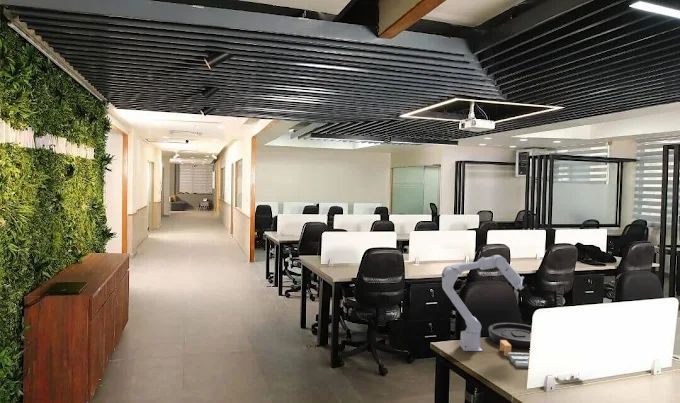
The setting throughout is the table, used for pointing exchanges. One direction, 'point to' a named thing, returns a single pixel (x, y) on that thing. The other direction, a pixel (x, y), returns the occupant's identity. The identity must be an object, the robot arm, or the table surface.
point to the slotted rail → (518, 359)
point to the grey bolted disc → (511, 334)
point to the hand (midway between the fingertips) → (529, 294)
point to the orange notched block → (505, 347)
